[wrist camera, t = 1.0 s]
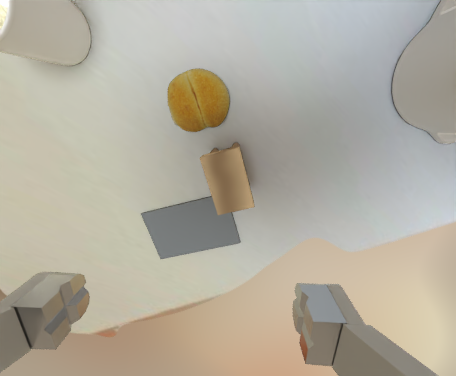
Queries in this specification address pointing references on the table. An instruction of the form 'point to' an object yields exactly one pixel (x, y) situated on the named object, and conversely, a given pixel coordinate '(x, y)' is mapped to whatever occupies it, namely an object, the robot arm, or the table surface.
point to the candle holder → (44, 31)
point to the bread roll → (198, 100)
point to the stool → (227, 179)
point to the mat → (190, 228)
